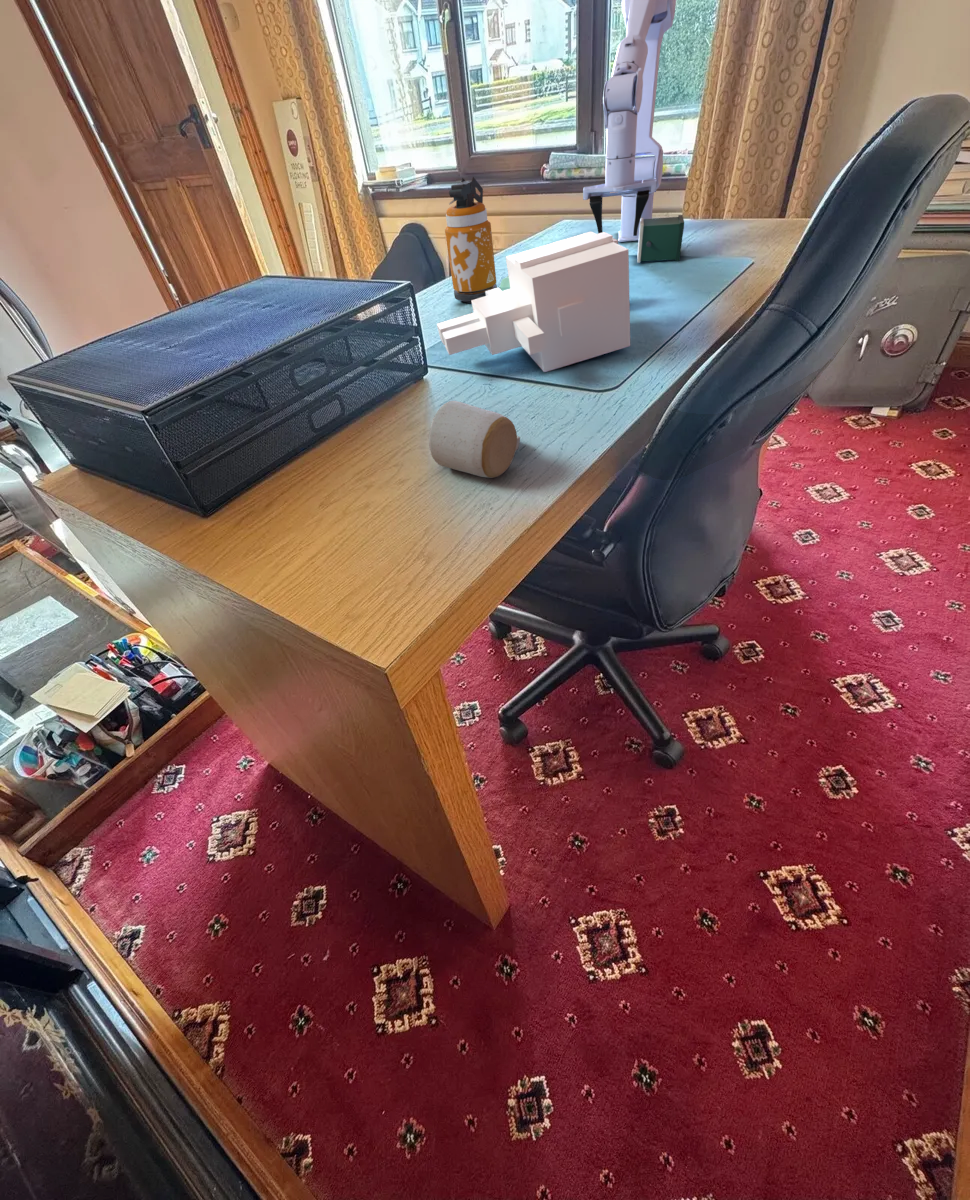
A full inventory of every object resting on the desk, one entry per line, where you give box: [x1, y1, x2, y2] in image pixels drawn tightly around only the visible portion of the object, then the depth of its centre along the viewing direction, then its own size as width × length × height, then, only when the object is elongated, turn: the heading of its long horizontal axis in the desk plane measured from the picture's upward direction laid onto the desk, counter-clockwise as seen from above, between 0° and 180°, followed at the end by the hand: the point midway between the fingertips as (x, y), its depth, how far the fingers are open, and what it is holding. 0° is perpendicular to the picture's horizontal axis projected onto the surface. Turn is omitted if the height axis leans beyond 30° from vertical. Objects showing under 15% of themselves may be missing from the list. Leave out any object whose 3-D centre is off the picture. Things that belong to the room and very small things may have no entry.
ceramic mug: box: [428, 400, 521, 479], centre depth 66 cm, size 11×8×8 cm
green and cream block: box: [636, 214, 685, 264], centre depth 119 cm, size 9×8×7 cm
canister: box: [444, 176, 498, 304], centre depth 111 cm, size 9×11×20 cm
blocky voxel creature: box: [436, 231, 631, 373], centre depth 87 cm, size 15×25×28 cm
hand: (617, 236), depth 121 cm, fingers open, 7 cm apart
